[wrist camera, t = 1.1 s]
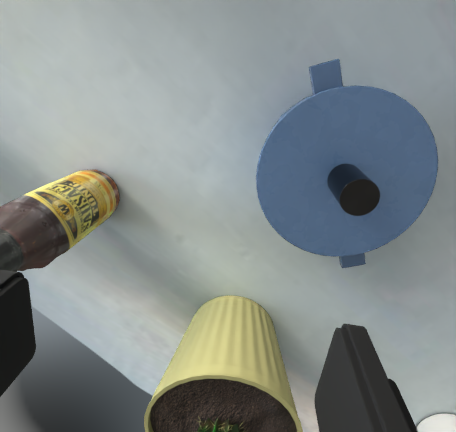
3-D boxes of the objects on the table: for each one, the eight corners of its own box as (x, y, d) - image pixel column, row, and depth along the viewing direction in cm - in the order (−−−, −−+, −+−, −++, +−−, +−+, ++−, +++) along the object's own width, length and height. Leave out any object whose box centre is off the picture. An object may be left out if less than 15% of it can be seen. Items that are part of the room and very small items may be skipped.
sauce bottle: (132, 199, 40) (25, 303, 22) (95, 225, 42) (-34, 340, 23) (96, 153, 38) (-55, 223, 20) (58, 182, 40) (-113, 270, 21)
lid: (274, 263, 35) (278, 299, 30) (238, 112, 30) (234, 120, 24) (434, 234, 33) (472, 267, 27) (427, 62, 27) (472, 58, 21)
